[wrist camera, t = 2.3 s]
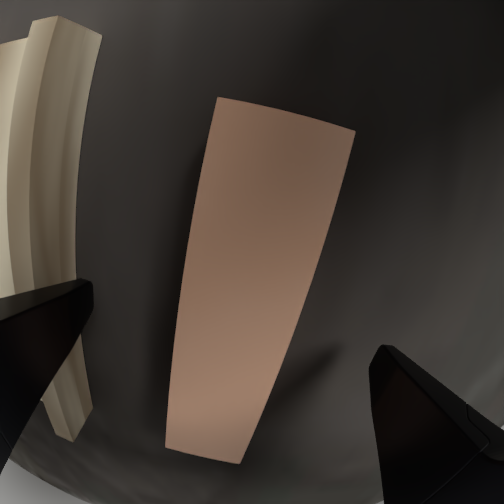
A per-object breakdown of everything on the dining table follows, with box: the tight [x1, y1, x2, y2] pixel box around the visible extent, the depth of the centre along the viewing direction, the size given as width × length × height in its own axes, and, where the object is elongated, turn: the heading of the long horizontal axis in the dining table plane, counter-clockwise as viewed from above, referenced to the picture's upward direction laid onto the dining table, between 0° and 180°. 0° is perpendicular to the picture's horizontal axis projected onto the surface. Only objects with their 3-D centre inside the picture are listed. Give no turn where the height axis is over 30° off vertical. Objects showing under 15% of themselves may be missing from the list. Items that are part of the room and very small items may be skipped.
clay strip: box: [165, 97, 356, 464], centre depth 9 cm, size 3×12×2 cm, turn 167°
